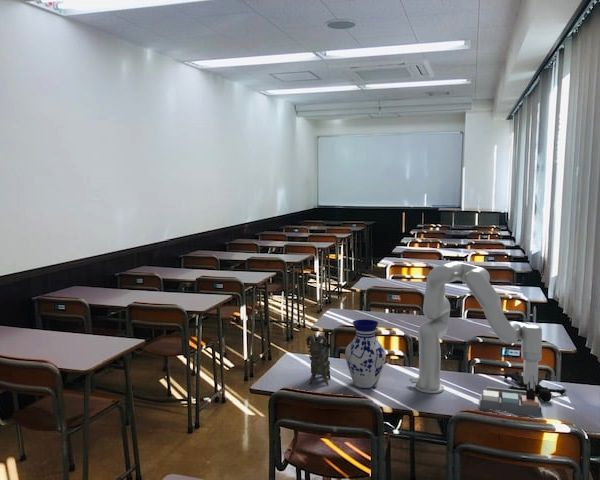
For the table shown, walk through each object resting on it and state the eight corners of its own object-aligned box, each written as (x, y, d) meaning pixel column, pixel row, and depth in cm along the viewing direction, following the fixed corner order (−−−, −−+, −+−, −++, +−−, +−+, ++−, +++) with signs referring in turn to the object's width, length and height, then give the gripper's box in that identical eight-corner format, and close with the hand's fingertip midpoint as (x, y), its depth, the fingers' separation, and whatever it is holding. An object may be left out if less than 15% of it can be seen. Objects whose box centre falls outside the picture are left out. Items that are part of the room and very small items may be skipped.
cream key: (483, 402, 213) (483, 395, 213) (483, 396, 219) (483, 389, 218) (498, 403, 211) (498, 396, 211) (498, 398, 216) (498, 391, 216)
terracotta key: (522, 407, 208) (522, 400, 207) (521, 402, 213) (521, 395, 213) (538, 409, 206) (538, 402, 205) (537, 404, 211) (537, 396, 211)
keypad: (479, 408, 213) (479, 394, 212) (479, 398, 223) (480, 385, 223) (542, 416, 204) (542, 402, 204) (540, 405, 215) (540, 392, 214)
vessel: (305, 391, 233) (302, 338, 233) (313, 376, 258) (311, 328, 257) (328, 391, 231) (326, 337, 231) (334, 376, 256) (332, 327, 256)
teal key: (502, 404, 210) (502, 397, 210) (502, 399, 216) (502, 392, 216) (518, 406, 208) (518, 399, 208) (517, 400, 214) (517, 393, 214)
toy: (480, 380, 243) (517, 403, 214) (482, 365, 243) (519, 386, 214) (535, 384, 248) (578, 406, 219) (537, 369, 248) (580, 390, 219)
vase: (386, 393, 230) (386, 328, 227) (344, 391, 232) (344, 327, 230) (384, 378, 249) (385, 318, 246) (345, 377, 251) (345, 317, 248)
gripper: (520, 349, 216) (519, 391, 217) (522, 359, 202) (521, 404, 203) (539, 350, 213) (539, 393, 215) (543, 361, 199) (542, 407, 201)
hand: (530, 398), depth 209 cm, fingers closed
